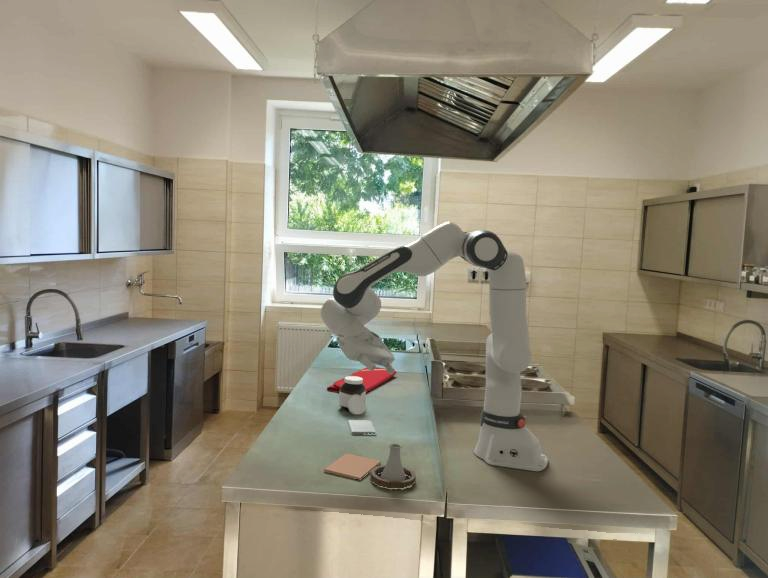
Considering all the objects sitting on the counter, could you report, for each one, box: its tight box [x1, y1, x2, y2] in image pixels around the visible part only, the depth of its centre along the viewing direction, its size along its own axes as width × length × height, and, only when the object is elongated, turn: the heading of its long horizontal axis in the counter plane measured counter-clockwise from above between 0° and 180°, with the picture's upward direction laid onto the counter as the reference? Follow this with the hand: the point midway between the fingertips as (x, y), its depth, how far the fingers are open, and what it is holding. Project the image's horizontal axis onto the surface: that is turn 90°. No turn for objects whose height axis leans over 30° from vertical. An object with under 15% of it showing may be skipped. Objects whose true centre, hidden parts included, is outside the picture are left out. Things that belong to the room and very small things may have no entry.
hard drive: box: [347, 419, 377, 435], centre depth 209 cm, size 2×8×12 cm
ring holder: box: [370, 464, 417, 488], centre depth 168 cm, size 12×12×2 cm
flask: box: [379, 443, 407, 481], centre depth 168 cm, size 7×7×10 cm
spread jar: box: [338, 375, 367, 415], centre depth 228 cm, size 12×11×12 cm
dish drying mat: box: [326, 366, 397, 393], centre depth 269 cm, size 16×41×4 cm, turn 158°
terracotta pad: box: [323, 453, 381, 481], centre depth 175 cm, size 11×14×1 cm
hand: (382, 370), depth 175 cm, fingers open, 8 cm apart
